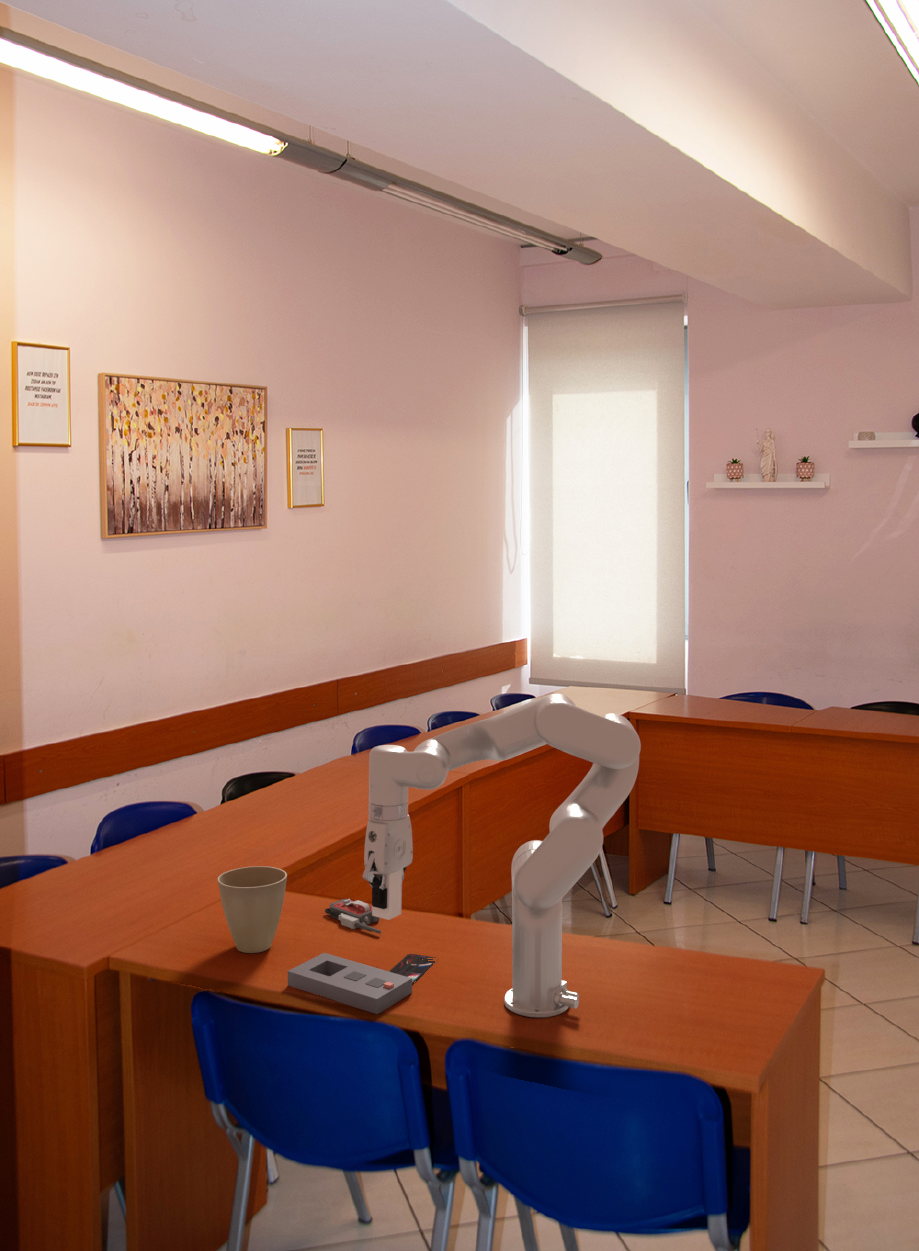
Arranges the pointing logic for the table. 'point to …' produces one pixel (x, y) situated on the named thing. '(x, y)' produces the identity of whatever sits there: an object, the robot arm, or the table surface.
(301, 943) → the table surface
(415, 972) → the smartphone
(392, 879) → the block
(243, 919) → the plant pot
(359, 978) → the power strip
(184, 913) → the table surface
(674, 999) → the table surface
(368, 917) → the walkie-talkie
